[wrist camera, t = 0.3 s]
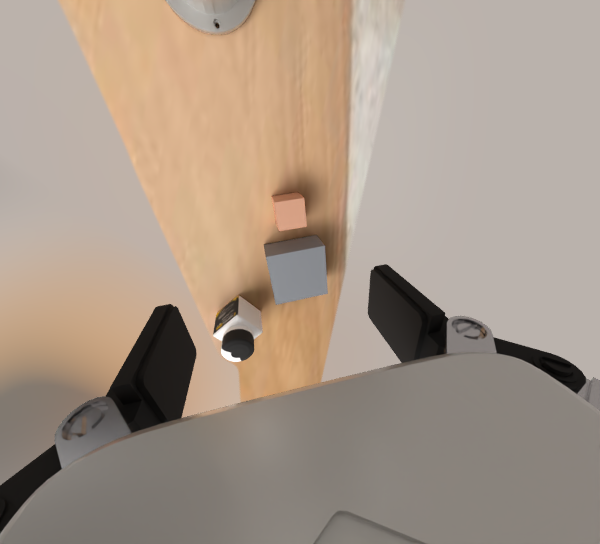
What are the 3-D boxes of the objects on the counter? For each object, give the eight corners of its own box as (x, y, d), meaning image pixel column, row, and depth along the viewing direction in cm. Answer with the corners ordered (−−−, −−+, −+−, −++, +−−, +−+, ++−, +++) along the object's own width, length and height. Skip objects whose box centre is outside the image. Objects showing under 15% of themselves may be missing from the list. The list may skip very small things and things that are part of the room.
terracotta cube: (271, 196, 42) (274, 202, 38) (298, 192, 42) (304, 198, 38) (275, 222, 44) (278, 231, 40) (300, 218, 45) (306, 226, 41)
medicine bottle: (238, 294, 50) (236, 333, 40) (261, 310, 54) (265, 350, 44) (216, 313, 52) (208, 356, 42) (239, 328, 55) (238, 371, 45)
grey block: (263, 244, 46) (265, 257, 41) (316, 234, 48) (324, 245, 42) (272, 288, 52) (275, 304, 47) (319, 278, 53) (327, 293, 48)
